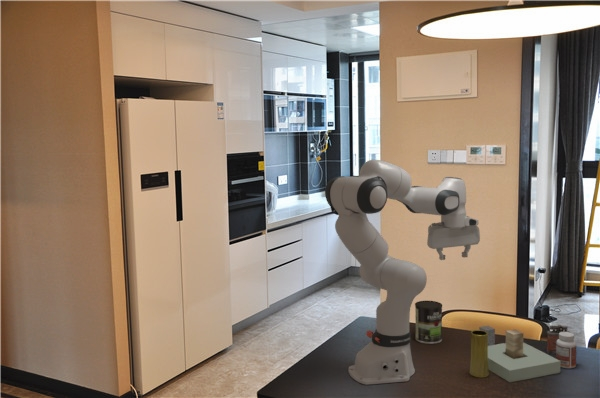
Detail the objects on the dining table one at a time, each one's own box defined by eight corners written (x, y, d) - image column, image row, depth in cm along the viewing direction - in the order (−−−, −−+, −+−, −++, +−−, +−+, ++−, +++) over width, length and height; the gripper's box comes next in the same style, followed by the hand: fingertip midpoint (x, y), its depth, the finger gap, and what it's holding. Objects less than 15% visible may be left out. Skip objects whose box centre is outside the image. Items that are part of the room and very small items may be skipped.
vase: (465, 372, 189) (465, 331, 187) (480, 368, 191) (480, 328, 190) (478, 379, 183) (478, 337, 182) (492, 375, 186) (493, 333, 184)
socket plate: (509, 382, 180) (509, 370, 180) (472, 359, 199) (472, 348, 199) (560, 372, 186) (560, 361, 186) (519, 351, 205) (519, 340, 205)
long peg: (513, 368, 190) (513, 334, 189) (505, 364, 194) (505, 330, 193) (522, 367, 192) (523, 333, 190) (515, 362, 195) (515, 329, 194)
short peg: (485, 345, 211) (485, 330, 211) (479, 342, 215) (479, 327, 214) (494, 344, 213) (494, 328, 212) (488, 340, 216) (488, 325, 216)
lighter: (568, 350, 204) (569, 323, 203) (572, 354, 201) (572, 327, 200) (545, 350, 205) (545, 323, 204) (548, 353, 202) (549, 327, 201)
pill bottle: (570, 361, 195) (571, 330, 194) (579, 368, 189) (580, 336, 188) (552, 362, 195) (553, 331, 194) (561, 369, 189) (562, 337, 187)
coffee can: (447, 341, 217) (447, 305, 215) (425, 345, 213) (425, 309, 212) (431, 332, 227) (431, 298, 225) (410, 337, 223) (409, 302, 221)
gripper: (432, 224, 199) (433, 263, 201) (482, 220, 205) (482, 257, 207) (423, 222, 205) (424, 259, 207) (472, 217, 211) (472, 254, 213)
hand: (453, 258), depth 207 cm, fingers open, 8 cm apart
